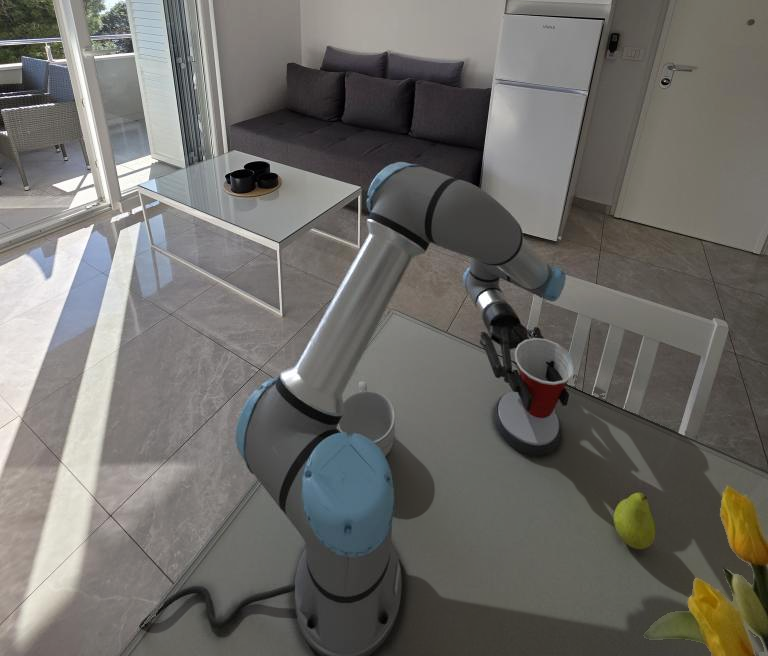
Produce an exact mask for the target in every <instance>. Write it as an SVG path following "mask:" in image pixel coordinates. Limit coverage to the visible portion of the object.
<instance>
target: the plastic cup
mask: <svg viewBox="0 0 768 656" xmlns="http://www.w3.org/2000/svg"><path fill="white" fill-rule="evenodd" d="M514 360H515V364H516V365H517V368H518V372H519V374H520V376H521V378H522V380H523V382H524V384H525V386H526V387H527V389H528V391H529V393H530V395H531V397H532V399H533V400H532V405H531V410H526V408H525V406H524V404H523V402H522V404H523V406H524V408H525V410H526V411H527V412H528V413H529V414H531V415H533V416H534V417H538V418H547V417H548V416H550V415H551V413H552V412H553V410H554V411H555V408H556V405H557V404H558V402H559V401H560V400H559V397H560V394H561V392H562V390H563V389H564V387H565V388H566V386H567V384H568V382H569V380H571V379H572V378H573V376H574V373H575V370H576V365H575V361H574V358H573V356H572V355H571V354H570V352H569V351H568V349H566V348H564V347H563V346H562V345H560V344H559V343H557V342H555V341H552V340H549V339H547V338H544V339H540V338H532V339H531V338H530V339H527V340H524V341H523V342H521V343H520V344H518V346H517V348H515V350H514ZM546 361H547V362H549V363H550V361H554V362H555V364H554V367H553V368H554V369H555V370H557V371H558V372H559V374H560V375H561V377H562V379H563V380H561V381H556V382H550V381H548V380H547V379H546V371H547V366H548V365H547V364H546Z"/></svg>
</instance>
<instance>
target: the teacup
mask: <svg viewBox="0 0 768 656" xmlns="http://www.w3.org/2000/svg"><path fill="white" fill-rule="evenodd" d="M367 386H368V385H367V382H366V381H359V383H358V392H355V393H352V394H351V395H349V396H348V397H347V398H345V399H344V400H343V404H344V408H345V411H344V414H343V415H342V417H341V419H340V421H339V423H338V426H337V429H338V430H339V431H340V432H347V435H353V433H357V434H360V435H363V436H365V437H366V438H368V439H370V440H371V441H372V442H374V443H375V444H376V445H377V446H378V447H379V449H380V450H381V451H382V453H383V454H384V456H385V457H386V456H387V455H388V454H389V453H390V452H391V449H392V447H393V444H394V440H395V432H396V431H395V430H396V410H395V408H394V405H393V403H392V401H391V400H390V399H389V398H388V397H387V396H386V395H384V394H382V393H380V392H378V391H374V390H368V387H367Z"/></svg>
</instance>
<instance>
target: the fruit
mask: <svg viewBox="0 0 768 656" xmlns="http://www.w3.org/2000/svg"><path fill="white" fill-rule="evenodd" d="M655 523H656V522H655V520H654V518H653V515H652V513H651V509H650V505H649V502H648V497H647V496H646V495H644V494H643V493H641V492H635V493H632V494H631V495H629V497H627V498H623V499H622V500H621V501H619V503H618V504H617V505H616V508H615V509H614V513H613V524H614V528H615V530H616V532H617V534H618V536H619V537H620V539H621V540H622V542H624V543H625V544H626V545H627V546H629V547H630V548H631V549H632V548H633V549H635V550H645V549H648V548H649V547H650V546H652V545H653V543H654V541H655V538H656V524H655Z"/></svg>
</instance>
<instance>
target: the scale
mask: <svg viewBox="0 0 768 656" xmlns="http://www.w3.org/2000/svg"><path fill="white" fill-rule="evenodd" d="M494 423H495V426H496V429H497V432H498V433H499V435H500V436H501V438H502V439H503V440H504V442H506V443H507V444H508V445H509V446H510V447H511V448H513V449H514V450H516V451H517V452H520V453H521V454H525V455H527V456H532V457H543V456H546V455H549V454H550V453H552V452H554V450H555V449H556V448H557V447H558V445H559V442H560V436H561V432H562V426H561V421H560V419H559V416H558V415H557V413H556V411H555V409H554V410H553V412H552V413H551V415H550V416H548V417H547V418H538V417H534V416H533V415H531V414H529V413H528V412H527V411H526V410H525V408H524V406H523V404H522V400H521V398H520V396H519V394H518V392H513V391H512V390H511V391H508V392H506V393H504V394H503V395H502V396H500V397H499V399H498V401H497V403H496V406H495V413H494Z"/></svg>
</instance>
